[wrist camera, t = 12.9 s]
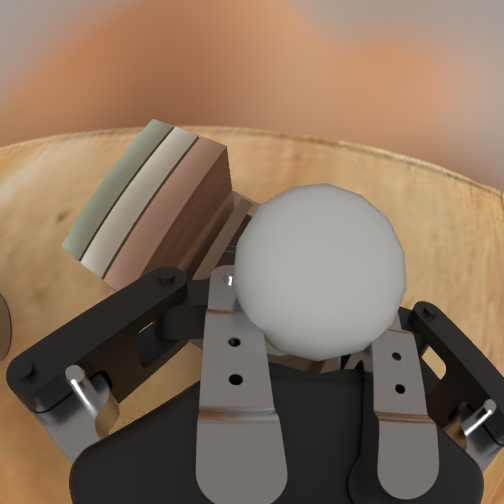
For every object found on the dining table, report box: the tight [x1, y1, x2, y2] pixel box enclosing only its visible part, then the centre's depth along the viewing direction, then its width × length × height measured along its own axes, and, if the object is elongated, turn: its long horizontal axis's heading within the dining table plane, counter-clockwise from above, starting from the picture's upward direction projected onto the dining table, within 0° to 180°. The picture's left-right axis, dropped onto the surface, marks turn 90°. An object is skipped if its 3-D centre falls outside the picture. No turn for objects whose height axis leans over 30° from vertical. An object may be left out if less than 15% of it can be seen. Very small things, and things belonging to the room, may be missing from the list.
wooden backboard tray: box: [62, 119, 337, 374], centre depth 19 cm, size 19×13×11 cm
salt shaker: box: [232, 183, 406, 361], centre depth 12 cm, size 6×6×13 cm
